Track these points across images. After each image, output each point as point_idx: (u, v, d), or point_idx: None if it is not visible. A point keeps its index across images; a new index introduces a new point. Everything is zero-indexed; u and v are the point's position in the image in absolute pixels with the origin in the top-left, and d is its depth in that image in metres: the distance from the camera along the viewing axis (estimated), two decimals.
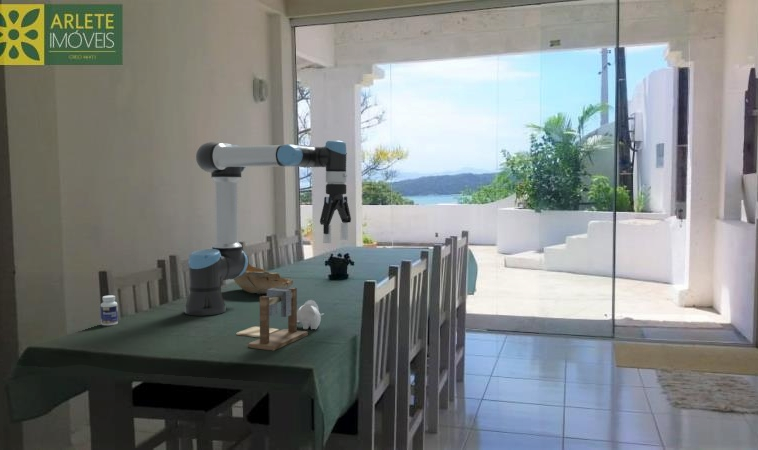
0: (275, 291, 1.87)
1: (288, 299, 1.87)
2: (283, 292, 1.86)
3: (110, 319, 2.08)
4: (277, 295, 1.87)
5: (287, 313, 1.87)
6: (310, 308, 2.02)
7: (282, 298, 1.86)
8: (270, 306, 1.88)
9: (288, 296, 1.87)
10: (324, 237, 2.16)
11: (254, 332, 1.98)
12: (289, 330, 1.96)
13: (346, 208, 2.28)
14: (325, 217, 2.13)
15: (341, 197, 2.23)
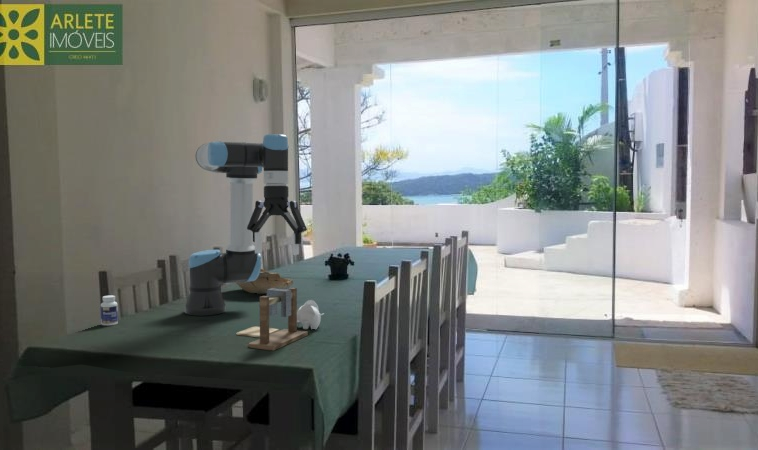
0: (275, 291, 1.87)
1: (288, 299, 1.87)
2: (283, 292, 1.86)
3: (110, 319, 2.08)
4: (277, 295, 1.87)
5: (287, 313, 1.87)
6: (310, 308, 2.02)
7: (282, 298, 1.86)
8: (270, 306, 1.88)
9: (288, 296, 1.87)
10: None
11: (254, 332, 1.98)
12: (289, 330, 1.96)
13: None
14: None
15: (280, 201, 1.85)
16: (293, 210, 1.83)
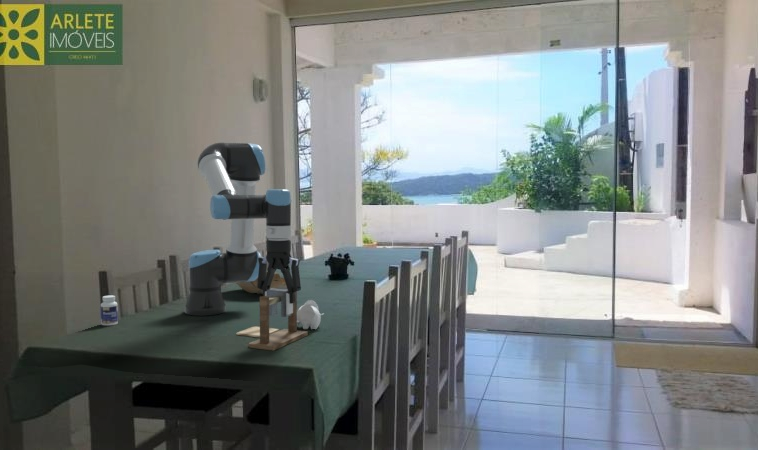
0: (275, 291, 1.87)
1: None
2: (283, 292, 1.86)
3: (110, 319, 2.08)
4: (277, 295, 1.87)
5: None
6: (310, 308, 2.02)
7: (282, 298, 1.86)
8: (270, 306, 1.88)
9: None
10: None
11: (254, 332, 1.98)
12: (289, 330, 1.96)
13: (292, 274, 1.85)
14: None
15: (283, 255, 1.86)
16: (293, 269, 1.84)
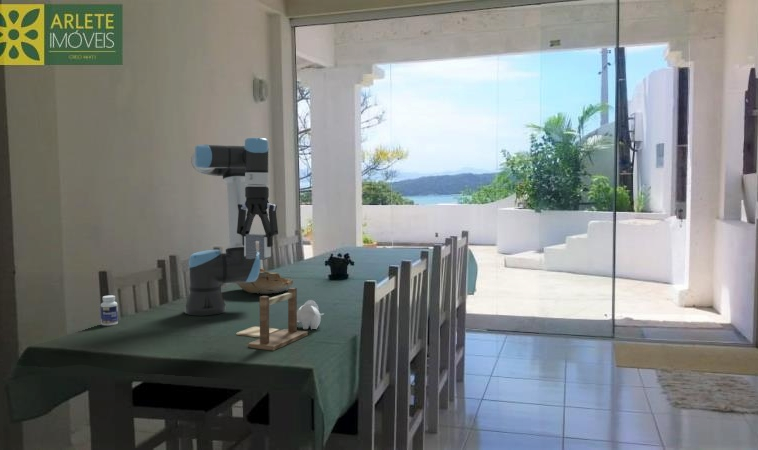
0: (253, 235, 1.96)
1: None
2: (261, 236, 1.95)
3: (110, 319, 2.08)
4: (255, 239, 1.96)
5: None
6: (310, 308, 2.02)
7: (260, 242, 1.95)
8: (249, 250, 1.97)
9: None
10: None
11: (254, 332, 1.98)
12: (289, 330, 1.96)
13: None
14: None
15: (261, 201, 1.95)
16: (270, 213, 1.93)
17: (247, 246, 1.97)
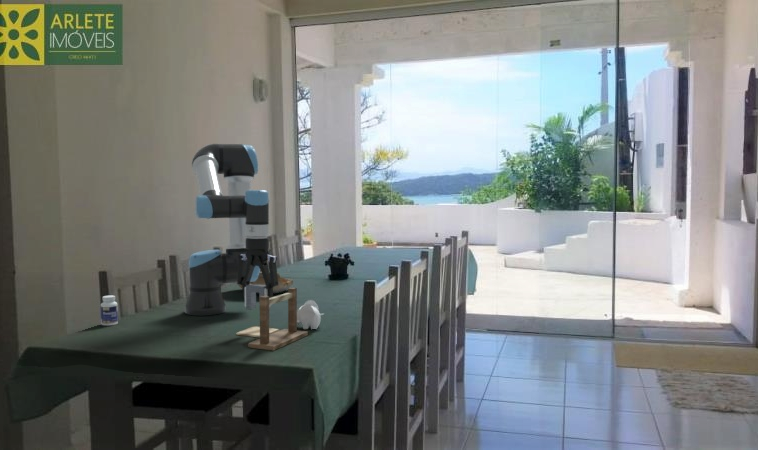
0: (254, 286, 1.97)
1: None
2: (261, 287, 1.96)
3: (110, 319, 2.08)
4: (256, 290, 1.97)
5: None
6: (310, 308, 2.02)
7: (260, 293, 1.96)
8: (249, 301, 1.98)
9: None
10: None
11: (254, 332, 1.98)
12: (289, 330, 1.96)
13: (270, 270, 1.95)
14: None
15: (261, 252, 1.96)
16: (271, 265, 1.95)
17: (247, 297, 1.98)
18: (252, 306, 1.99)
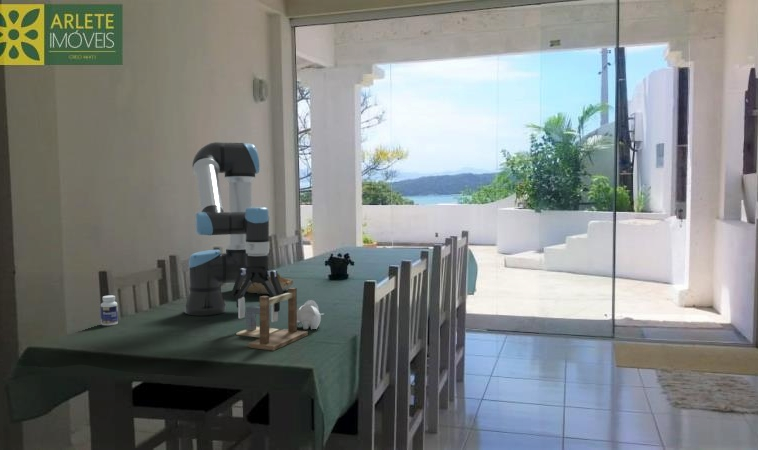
0: (254, 308, 1.98)
1: None
2: None
3: (110, 319, 2.08)
4: (256, 312, 1.98)
5: None
6: (310, 308, 2.02)
7: None
8: (249, 322, 1.99)
9: None
10: None
11: (254, 332, 1.98)
12: (289, 330, 1.96)
13: None
14: None
15: (261, 270, 1.96)
16: (273, 280, 1.95)
17: (248, 318, 1.99)
18: (252, 328, 2.00)
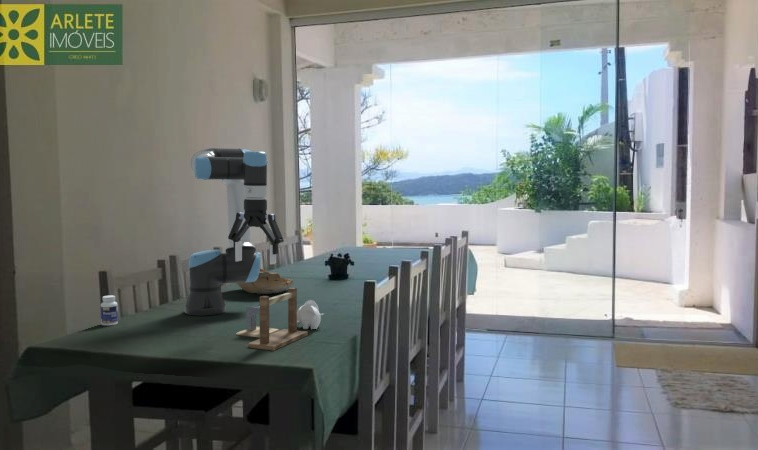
0: (254, 308, 1.98)
1: None
2: None
3: (110, 319, 2.08)
4: (256, 312, 1.98)
5: None
6: (310, 308, 2.02)
7: None
8: (249, 322, 1.99)
9: None
10: None
11: (254, 332, 1.98)
12: (289, 330, 1.96)
13: None
14: None
15: (259, 214, 1.98)
16: (271, 223, 1.96)
17: (248, 318, 1.99)
18: (252, 328, 2.00)
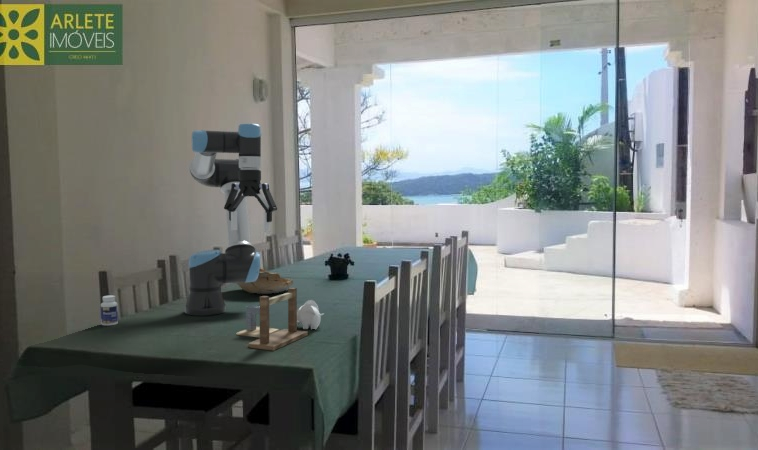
0: (254, 308, 1.98)
1: None
2: None
3: (110, 319, 2.08)
4: (256, 312, 1.98)
5: None
6: (310, 308, 2.02)
7: None
8: (249, 322, 1.99)
9: None
10: None
11: (254, 332, 1.98)
12: (289, 330, 1.96)
13: None
14: None
15: (253, 184, 2.06)
16: (265, 191, 2.04)
17: (248, 318, 1.99)
18: (252, 328, 2.00)
